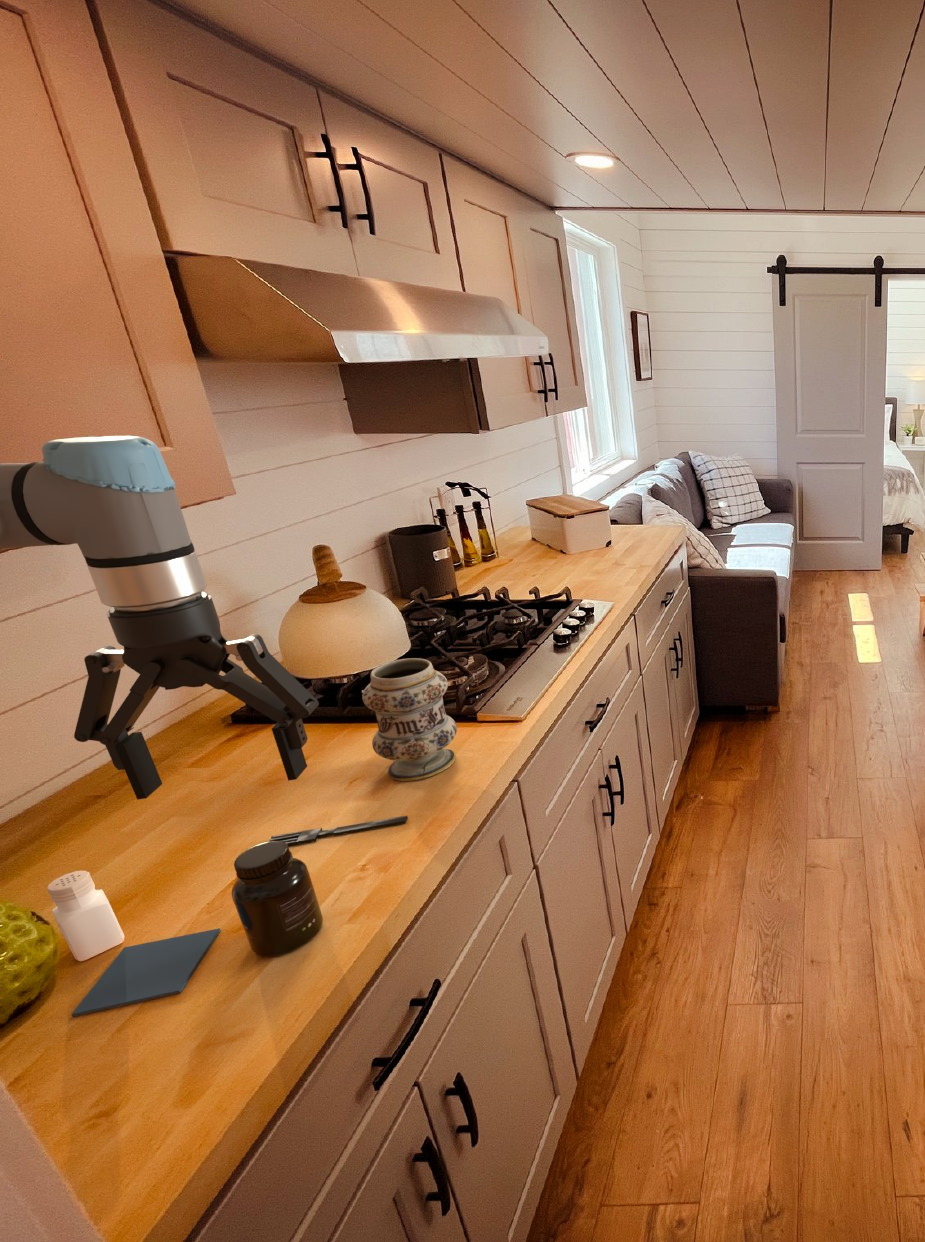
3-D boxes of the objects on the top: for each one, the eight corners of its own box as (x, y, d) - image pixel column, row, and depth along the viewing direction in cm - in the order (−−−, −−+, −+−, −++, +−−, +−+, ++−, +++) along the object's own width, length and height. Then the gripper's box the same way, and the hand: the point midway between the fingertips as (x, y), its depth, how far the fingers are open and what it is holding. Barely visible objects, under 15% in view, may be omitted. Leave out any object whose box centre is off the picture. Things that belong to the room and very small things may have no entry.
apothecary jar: (479, 751, 118) (460, 657, 112) (423, 790, 107) (399, 689, 101) (421, 741, 121) (400, 649, 115) (362, 779, 110) (335, 679, 104)
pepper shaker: (119, 926, 81) (89, 862, 78) (127, 942, 79) (97, 877, 75) (70, 948, 78) (38, 883, 75) (78, 965, 76) (44, 898, 72)
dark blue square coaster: (72, 1017, 70) (70, 1014, 70) (125, 949, 78) (124, 947, 78) (180, 993, 73) (179, 990, 72) (220, 930, 81) (219, 928, 80)
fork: (265, 850, 94) (264, 847, 94) (272, 838, 96) (271, 835, 96) (404, 826, 99) (404, 823, 99) (408, 815, 101) (408, 812, 101)
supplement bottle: (236, 955, 77) (203, 871, 73) (289, 911, 84) (261, 831, 79) (289, 963, 76) (259, 878, 72) (339, 917, 83) (314, 837, 79)
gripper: (321, 578, 73) (367, 749, 80) (30, 597, 67) (109, 779, 74) (288, 601, 66) (342, 784, 73) (-40, 623, 60) (56, 822, 67)
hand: (225, 782), depth 74 cm, fingers open, 13 cm apart
